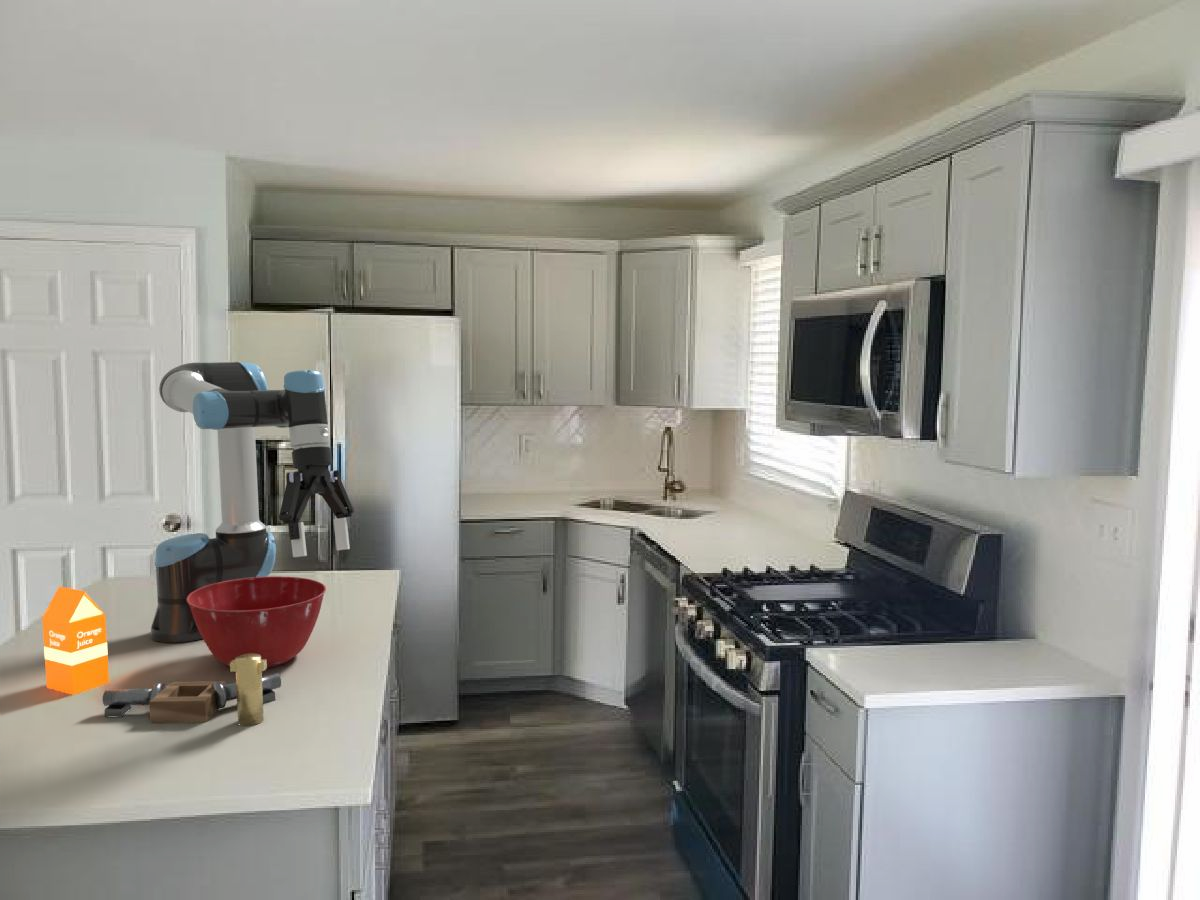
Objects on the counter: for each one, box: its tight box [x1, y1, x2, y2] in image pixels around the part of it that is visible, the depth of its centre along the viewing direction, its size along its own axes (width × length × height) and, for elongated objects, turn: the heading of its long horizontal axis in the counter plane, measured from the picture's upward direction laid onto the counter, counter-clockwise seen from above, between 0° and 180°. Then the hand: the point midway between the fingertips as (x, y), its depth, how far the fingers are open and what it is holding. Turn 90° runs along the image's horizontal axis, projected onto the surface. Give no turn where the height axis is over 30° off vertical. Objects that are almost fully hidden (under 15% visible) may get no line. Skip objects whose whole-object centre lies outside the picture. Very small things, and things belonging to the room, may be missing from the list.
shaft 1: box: [102, 682, 167, 718], centre depth 170 cm, size 10×5×6 cm, turn 93°
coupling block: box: [148, 680, 226, 724], centre depth 171 cm, size 10×10×4 cm
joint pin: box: [229, 653, 268, 727], centre depth 166 cm, size 4×6×12 cm
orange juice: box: [41, 586, 110, 696], centre depth 183 cm, size 8×9×20 cm
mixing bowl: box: [187, 575, 327, 669], centre depth 199 cm, size 28×28×15 cm
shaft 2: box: [211, 672, 282, 710], centre depth 175 cm, size 12×5×6 cm, turn 133°
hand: (322, 553), depth 182 cm, fingers open, 13 cm apart
